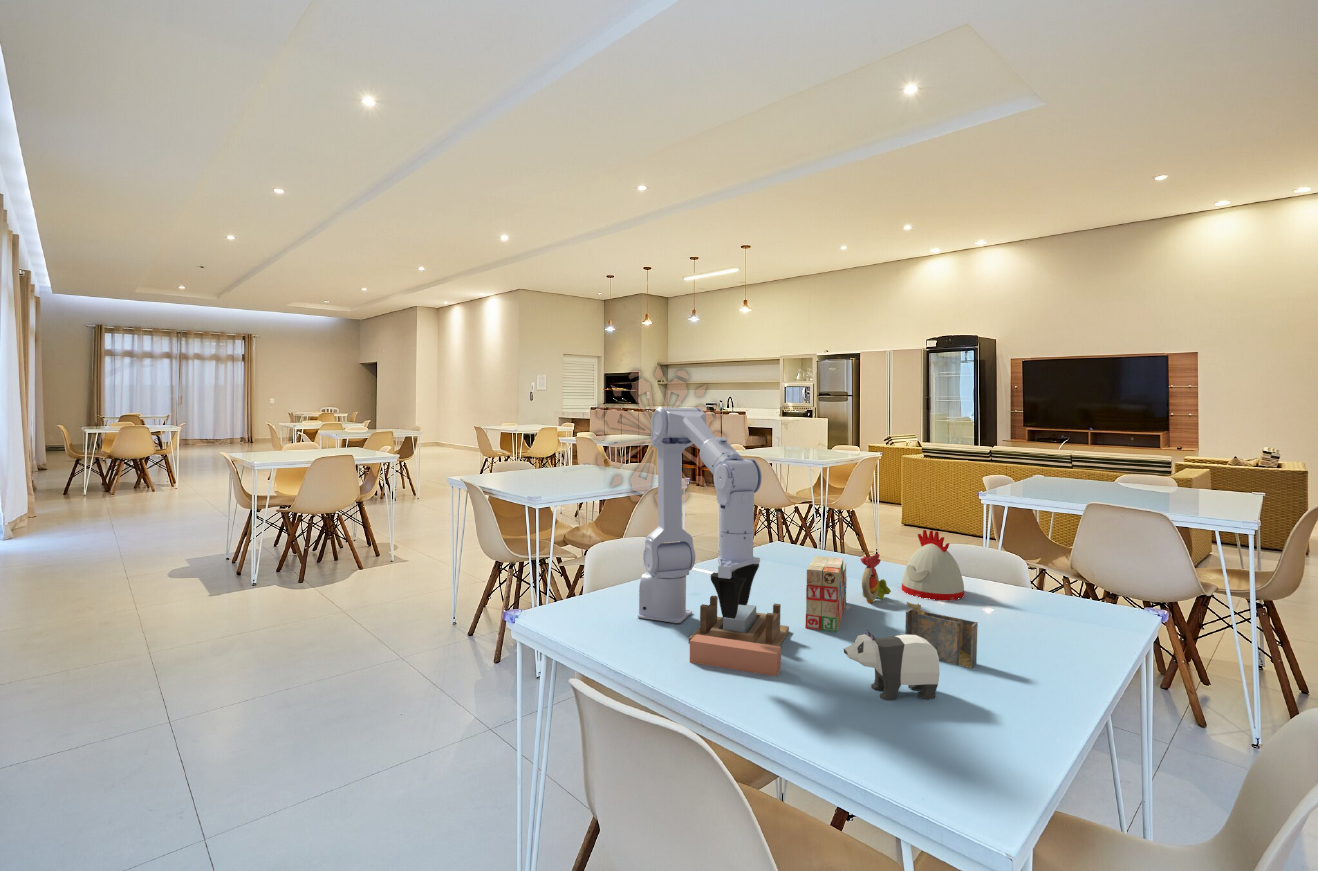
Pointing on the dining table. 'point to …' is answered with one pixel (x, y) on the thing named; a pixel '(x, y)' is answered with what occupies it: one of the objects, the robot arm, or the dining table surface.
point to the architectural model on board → (945, 635)
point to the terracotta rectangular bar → (735, 654)
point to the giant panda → (898, 663)
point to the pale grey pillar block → (741, 619)
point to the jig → (761, 632)
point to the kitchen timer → (933, 571)
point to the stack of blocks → (825, 593)
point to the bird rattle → (873, 580)
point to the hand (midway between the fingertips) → (735, 610)
